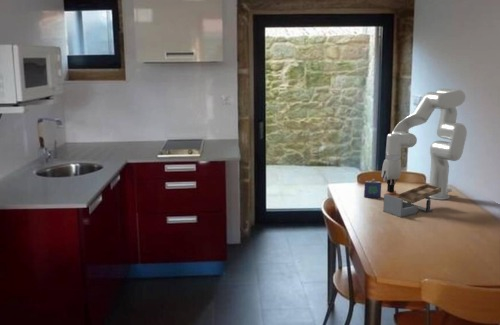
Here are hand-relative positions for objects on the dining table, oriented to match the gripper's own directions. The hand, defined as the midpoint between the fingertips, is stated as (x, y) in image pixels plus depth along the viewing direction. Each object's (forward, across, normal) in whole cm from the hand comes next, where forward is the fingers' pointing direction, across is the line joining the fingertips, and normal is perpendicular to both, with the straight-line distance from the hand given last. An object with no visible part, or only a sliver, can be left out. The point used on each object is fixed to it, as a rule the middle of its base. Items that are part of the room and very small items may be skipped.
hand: (390, 191), depth 274 cm
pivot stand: (+8, -9, +12) cm, 16 cm away
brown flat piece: (+1, -9, +8) cm, 12 cm away
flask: (+8, -4, -16) cm, 19 cm away
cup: (+8, +4, +12) cm, 15 cm away
